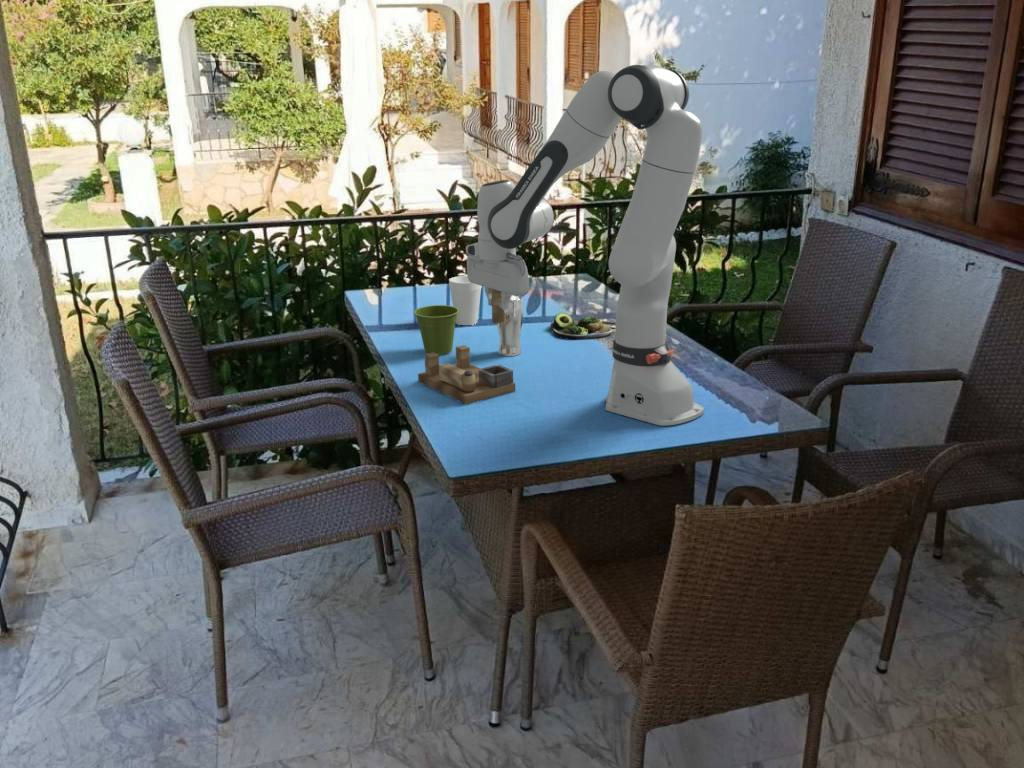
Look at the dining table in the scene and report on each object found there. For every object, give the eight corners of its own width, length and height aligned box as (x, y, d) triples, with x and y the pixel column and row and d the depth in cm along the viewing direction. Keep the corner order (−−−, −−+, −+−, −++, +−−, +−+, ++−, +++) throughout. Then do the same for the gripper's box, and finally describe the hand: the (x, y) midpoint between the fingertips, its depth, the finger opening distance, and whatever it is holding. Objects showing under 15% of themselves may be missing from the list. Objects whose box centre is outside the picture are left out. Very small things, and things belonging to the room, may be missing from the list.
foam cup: (475, 328, 266) (474, 284, 261) (445, 326, 269) (444, 282, 264) (486, 320, 274) (486, 276, 270) (457, 317, 277) (456, 274, 273)
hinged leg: (478, 389, 210) (477, 372, 209) (467, 392, 208) (466, 375, 207) (449, 376, 219) (448, 360, 217) (438, 379, 217) (437, 362, 216)
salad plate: (611, 321, 273) (611, 306, 272) (626, 338, 256) (626, 322, 255) (546, 324, 271) (546, 309, 269) (557, 342, 254) (557, 325, 252)
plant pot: (425, 343, 252) (423, 303, 249) (466, 347, 249) (465, 306, 245) (408, 356, 242) (406, 314, 238) (451, 360, 238) (449, 318, 235)
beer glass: (520, 357, 240) (519, 301, 235) (493, 356, 241) (493, 300, 236) (525, 349, 246) (525, 294, 241) (499, 348, 248) (499, 293, 243)
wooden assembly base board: (515, 391, 216) (515, 362, 214) (466, 404, 208) (465, 375, 206) (465, 369, 231) (465, 343, 229) (418, 381, 223) (417, 354, 221)
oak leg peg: (507, 322, 224) (506, 285, 221) (497, 324, 222) (496, 287, 219) (499, 319, 226) (498, 283, 223) (489, 321, 224) (488, 285, 221)
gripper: (535, 255, 212) (535, 313, 217) (482, 242, 227) (484, 297, 232) (513, 258, 209) (514, 318, 213) (461, 245, 224) (463, 301, 228)
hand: (498, 307), depth 223 cm, fingers closed on oak leg peg, 3 cm apart
